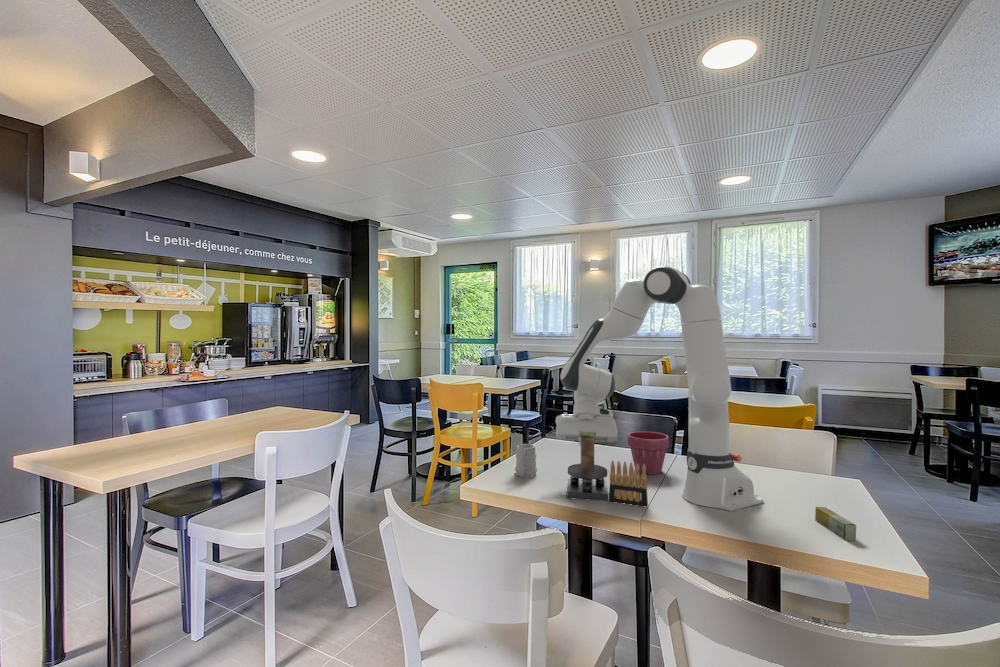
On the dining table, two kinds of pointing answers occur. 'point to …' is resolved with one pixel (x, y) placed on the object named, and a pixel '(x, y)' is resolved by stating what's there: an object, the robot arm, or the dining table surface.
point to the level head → (587, 460)
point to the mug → (526, 460)
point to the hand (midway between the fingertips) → (586, 451)
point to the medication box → (836, 523)
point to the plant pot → (648, 450)
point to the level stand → (587, 489)
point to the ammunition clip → (628, 485)
